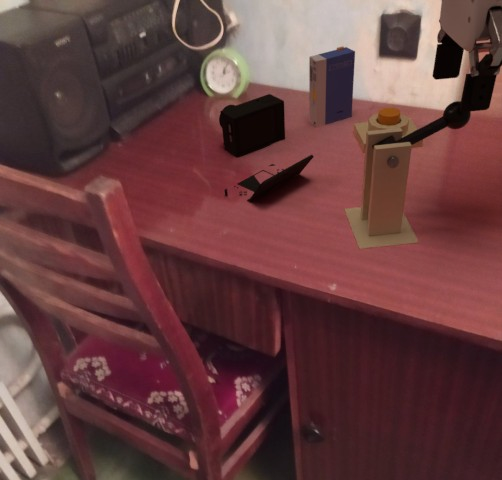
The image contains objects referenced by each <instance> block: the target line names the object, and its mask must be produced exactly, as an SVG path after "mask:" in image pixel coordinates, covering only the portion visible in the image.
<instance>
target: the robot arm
mask: <svg viewBox="0 0 502 480" xmlns="http://www.w3.org/2000/svg"><path fill="white" fill-rule="evenodd" d="M438 23H439V25H440V29H439V31H438V32H437V37H436V40H437V44H436V49H435V50H436V51H435V55H434V63H433V69H432V78H433V79H434V80H448V79H456V78H458V77H459V76H460V73H461V68H462V62H463V56H464V52H468V61H469V62H468V63H469V73H465V79H464V83H463V89H462V94H461V99H460V101H461V104H460V110H461V111H462V112H470V111H471V112H480V111H487V110H488V109H489V108H490V107H491V101H492V98H493V94H494V89H495V85H496V80H497V76H498V75H500V72H501V67H502V0H441V5H440V13H439V19H438ZM484 41H485V42H484ZM479 53H481V54H482V53H486V54H484V56H483V57H482V58H481V59H480V55H479Z"/></svg>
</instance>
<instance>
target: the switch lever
mask: <svg viewBox="0 0 502 480" xmlns="http://www.w3.org/2000/svg"><path fill="white" fill-rule="evenodd" d="M460 104H461V100H460V101H459V100H456V101H453V102H451V103H449V104H448V105H447V106H446V107H445V108H444V109H443V114H442V116H441V117H439V118H437V119H434V120H433V121H431V122H430V123H427V124H426V125H423V126H421V127H419V128H417V129H418V130H416V131H414V132H412V133H410V134H408V135H406V136H405V137H403V138H401V139H399V140H397V141H396V140H395V138H394V137H393V135H391V136H389V137H387V138H385V139H384V140H382V141H380V142H378V143H376V144H374V145H372V148H373V150H374V146H376V145H385V144H394V143H404V142H410V143H411V145H413V144H415V143H417V142H419V141H421V140H423V141H424V139H427V138H428V137H431V136H432V135H434V134H436V133H438V132H440V131H442V130H444V129H445V128H448V129H450V130H460V129H463V128H464V127H465V126H466V125H468V123H469V122H470V119H471V116H472V111H470V112H462V111H461V110H460Z"/></svg>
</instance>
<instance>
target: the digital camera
mask: <svg viewBox="0 0 502 480" xmlns="http://www.w3.org/2000/svg"><path fill="white" fill-rule="evenodd" d="M219 112H220V114H219V116H218V117H219V118H218V123H219V126H220V128H221V131H222V139H223V148H224V150H225V151H227V152H228V153H229V154H231V155H233V156H234V157H236V158H239V157H243V156H244V155H247V154H250V153H252V152H255V151H257V150H260V149H263V148H266V147H267V146H271V145H273V144H276V143H278V142H281V141H284V140H285V139H286V126H285V125H286V124H285V123H286V122H285V119H286V118H285V117H286V116H285V101H284V100H283V99H281V98H279V97H277V96H275V95H273V94H272V93H267V94H265V95H262V96H259V97H256V98H253V99H251V100H248V101H244V102H242V103H238V104H236V105H235V104H228V105H226V106H225V107H223V108H222V110H220V111H219Z"/></svg>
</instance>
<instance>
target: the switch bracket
mask: <svg viewBox="0 0 502 480" xmlns="http://www.w3.org/2000/svg"><path fill="white" fill-rule="evenodd" d="M402 134H403V131H402V129H401V128H393V129H384V130H374V131H367V132H366V146H365V153H364V161H363V175H362V188H361V189H362V191H361V203H360V206H356V207H346V208H344V209H343V210H344V213H345V216H346V217H347V221H348V223H349V226H350V228H351V231H352V234H353V237H354V239H355V242H356V244H357V247H358V250H366V249H367V250H368V249H376V248H384V247H394V246H403V245H412V244H413V245H414V244H419V243H420V242H419V239H418V238H417V236H416V233H415V231H414V229H413V228H412V226H411V224H410V222H409V220H408V218H407V216H406V214H405V212H404V210H405V209H404V208H405V202H406V193H407V187H408V179H409V171H410V163H411V162H410V161H411V157H412V156H411V155H412V145H411V143H410V142H404V143H394V144H385V145H376V146H374V150H373V148H372V145H374V144H376V143H378V142H380V141H382V140H384V139H385V138H387V137H389V136H391V135H393V137H394V138H395V140H396V141H397V140H399V139H401V138H402Z"/></svg>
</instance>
